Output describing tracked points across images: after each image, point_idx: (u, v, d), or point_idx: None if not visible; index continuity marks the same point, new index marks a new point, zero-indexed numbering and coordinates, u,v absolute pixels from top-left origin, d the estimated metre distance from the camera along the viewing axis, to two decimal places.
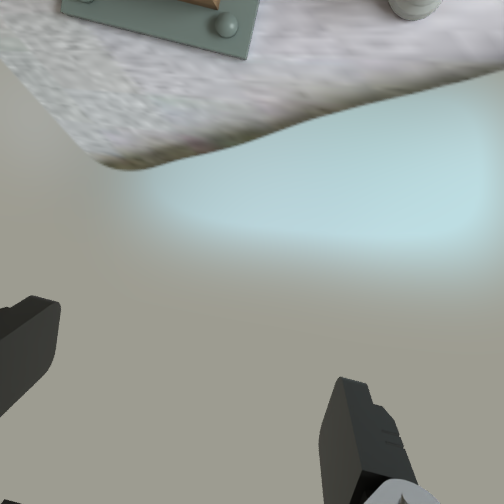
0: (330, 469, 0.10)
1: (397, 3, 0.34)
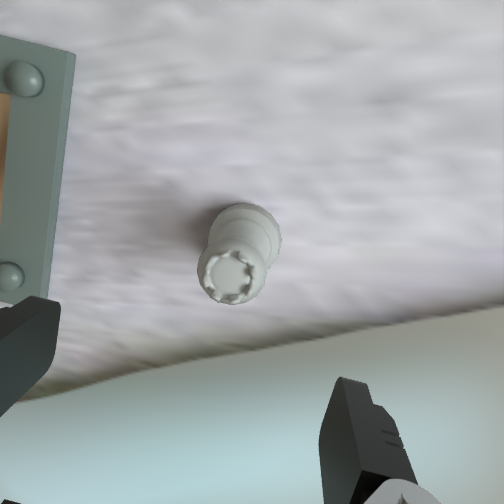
0: (330, 469, 0.10)
1: None
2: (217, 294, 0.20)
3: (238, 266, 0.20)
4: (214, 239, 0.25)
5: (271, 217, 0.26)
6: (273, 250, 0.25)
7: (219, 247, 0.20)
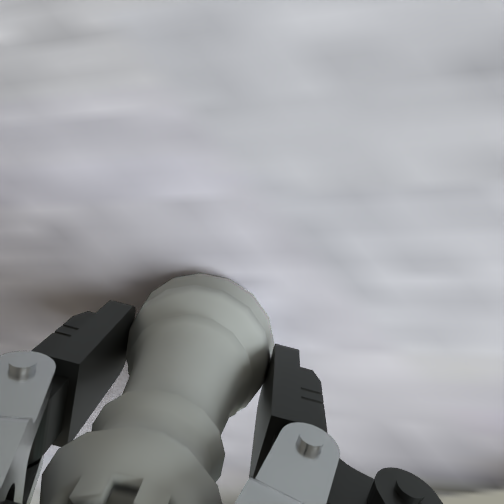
0: (258, 424, 0.11)
1: None
2: None
3: None
4: (132, 356, 0.12)
5: (253, 301, 0.13)
6: (256, 374, 0.12)
7: (86, 462, 0.07)
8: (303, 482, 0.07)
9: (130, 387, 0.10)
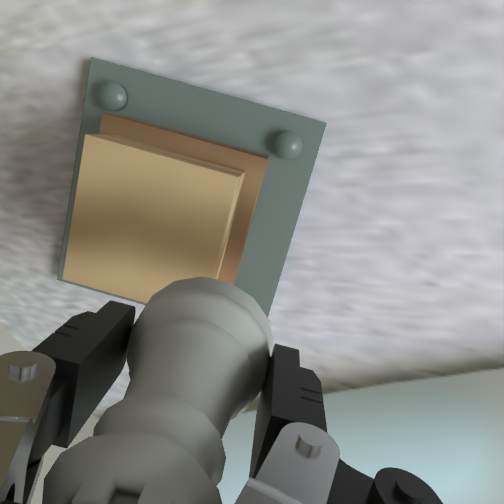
0: (258, 424, 0.11)
1: None
2: None
3: None
4: (133, 359, 0.12)
5: (253, 304, 0.13)
6: (256, 377, 0.12)
7: (88, 466, 0.07)
8: (303, 482, 0.07)
9: (131, 391, 0.10)
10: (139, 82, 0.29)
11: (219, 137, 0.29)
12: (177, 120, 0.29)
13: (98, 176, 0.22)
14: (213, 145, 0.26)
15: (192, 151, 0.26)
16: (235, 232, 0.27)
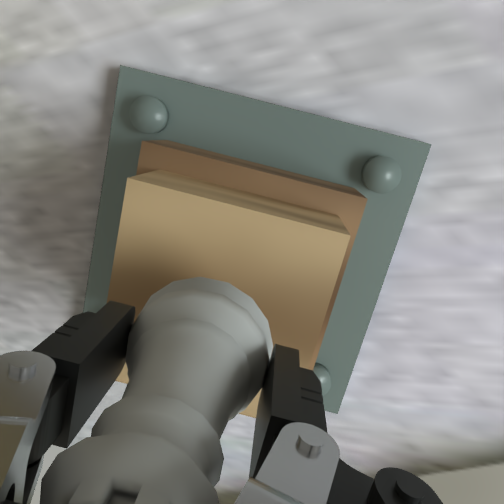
0: (258, 424, 0.11)
1: None
2: None
3: None
4: (131, 360, 0.12)
5: (252, 304, 0.13)
6: (255, 378, 0.12)
7: (85, 467, 0.07)
8: (303, 482, 0.07)
9: (129, 391, 0.10)
10: (183, 96, 0.22)
11: (288, 165, 0.22)
12: (233, 144, 0.22)
13: (146, 236, 0.16)
14: (294, 181, 0.19)
15: (265, 190, 0.19)
16: None
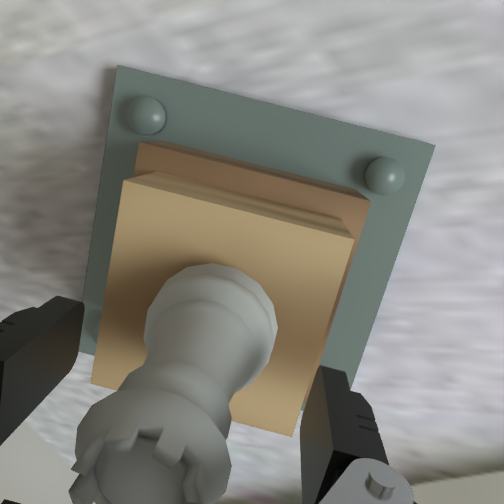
0: (308, 453, 0.11)
1: None
2: None
3: (159, 464, 0.08)
4: (150, 336, 0.13)
5: (259, 289, 0.15)
6: (260, 355, 0.14)
7: (116, 414, 0.08)
8: None
9: (149, 360, 0.11)
10: (181, 96, 0.22)
11: (289, 166, 0.22)
12: (232, 145, 0.22)
13: (143, 241, 0.15)
14: (295, 183, 0.18)
15: (265, 192, 0.18)
16: None
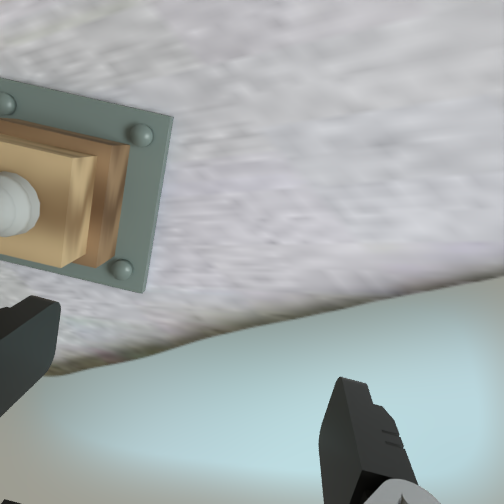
0: (330, 469, 0.10)
1: None
2: None
3: None
4: None
5: (27, 183, 0.30)
6: (21, 210, 0.29)
7: None
8: None
9: None
10: (23, 91, 0.37)
11: (90, 132, 0.37)
12: (56, 120, 0.37)
13: None
14: (70, 137, 0.33)
15: (55, 142, 0.33)
16: (96, 204, 0.34)
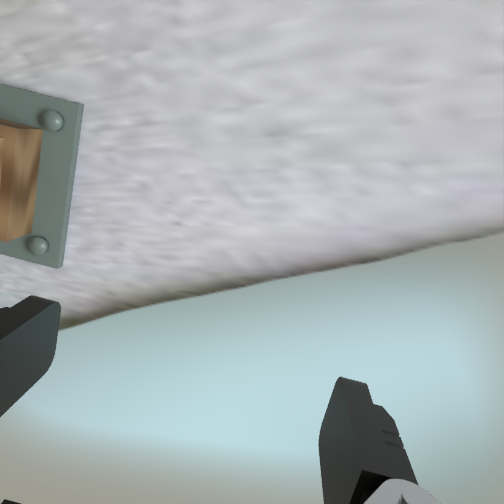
0: (330, 469, 0.10)
1: None
2: None
3: None
4: None
5: None
6: None
7: None
8: None
9: None
10: None
11: (6, 116, 0.40)
12: None
13: None
14: None
15: None
16: (4, 182, 0.38)
